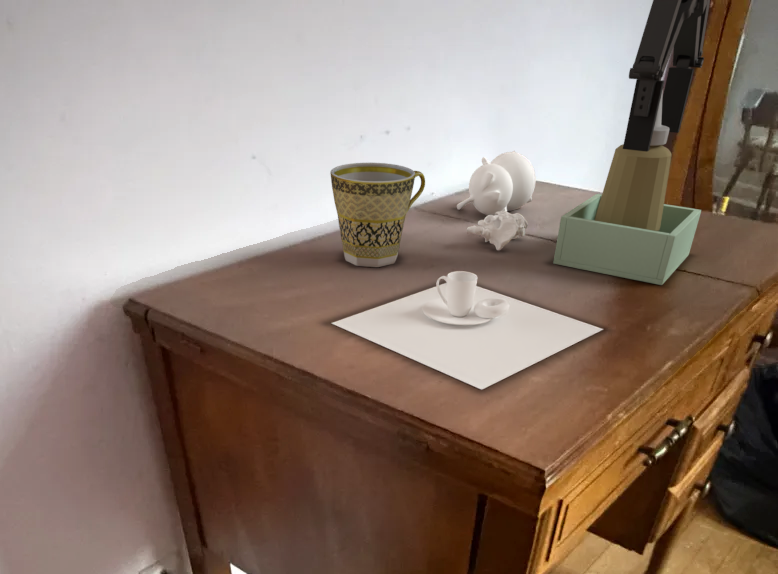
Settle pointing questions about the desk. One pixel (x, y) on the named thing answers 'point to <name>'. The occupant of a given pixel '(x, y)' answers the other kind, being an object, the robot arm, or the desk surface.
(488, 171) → the cat figurine
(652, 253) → the bin
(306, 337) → the desk surface
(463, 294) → the teacup and saucer
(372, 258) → the ceramic cup
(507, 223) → the anatomical pelvis
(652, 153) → the squeeze bottle
